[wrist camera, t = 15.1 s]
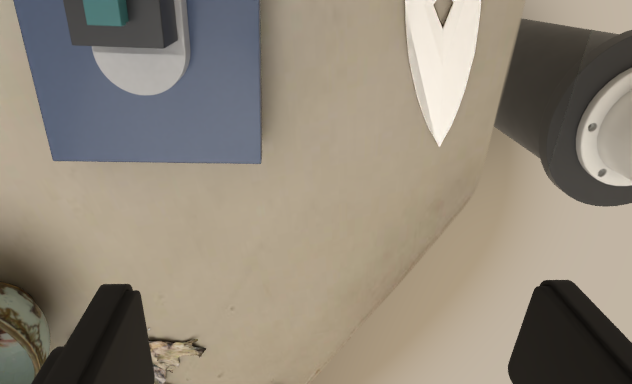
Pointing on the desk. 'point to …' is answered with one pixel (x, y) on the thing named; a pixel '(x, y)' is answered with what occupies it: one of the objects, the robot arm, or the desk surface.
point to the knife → (441, 58)
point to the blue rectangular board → (151, 110)
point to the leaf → (170, 356)
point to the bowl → (21, 336)
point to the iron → (134, 40)
